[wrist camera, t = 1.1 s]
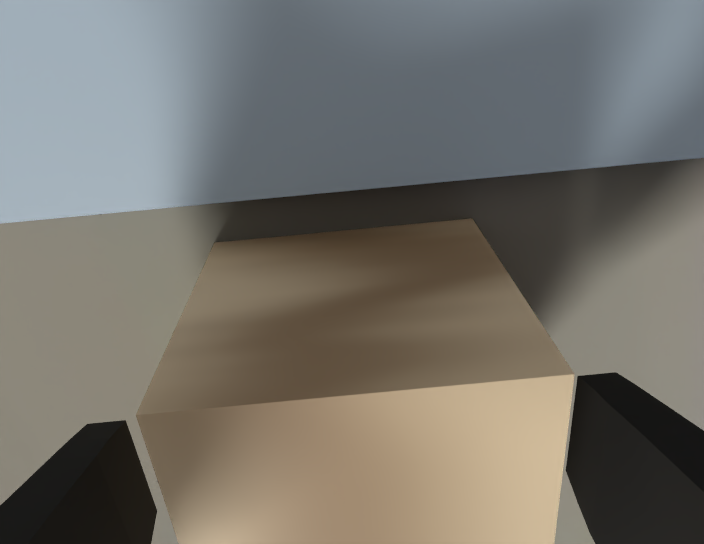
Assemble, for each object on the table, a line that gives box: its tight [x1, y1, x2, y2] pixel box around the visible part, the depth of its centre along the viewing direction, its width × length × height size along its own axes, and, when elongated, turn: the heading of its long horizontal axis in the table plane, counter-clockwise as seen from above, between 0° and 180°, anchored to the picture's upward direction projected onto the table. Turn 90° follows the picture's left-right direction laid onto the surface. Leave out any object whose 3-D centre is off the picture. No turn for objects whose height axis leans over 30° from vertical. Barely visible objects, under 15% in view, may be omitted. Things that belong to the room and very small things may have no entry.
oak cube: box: [136, 218, 574, 544], centre depth 10 cm, size 5×5×5 cm
